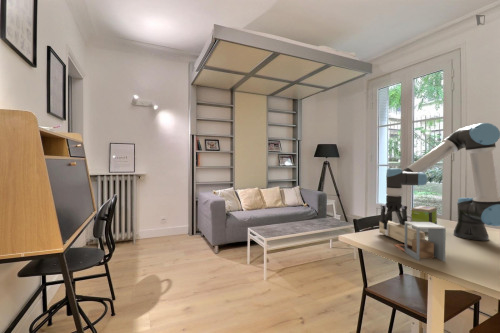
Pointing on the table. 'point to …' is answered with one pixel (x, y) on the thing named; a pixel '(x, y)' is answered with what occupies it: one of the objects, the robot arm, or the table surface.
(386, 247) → the table surface
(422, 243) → the block
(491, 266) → the table surface
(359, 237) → the table surface
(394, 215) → the mug
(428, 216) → the tea box
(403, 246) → the grey open frame stool
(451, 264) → the table surface
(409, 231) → the wooden beam
